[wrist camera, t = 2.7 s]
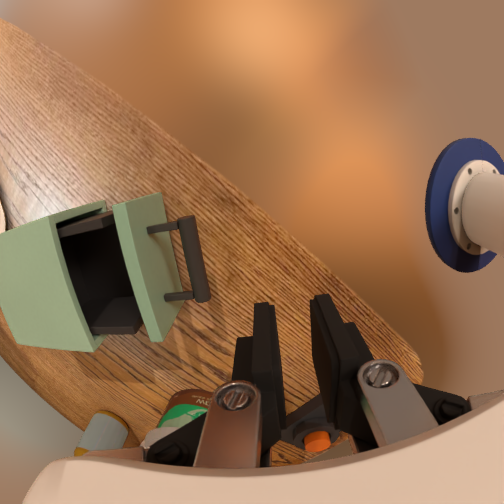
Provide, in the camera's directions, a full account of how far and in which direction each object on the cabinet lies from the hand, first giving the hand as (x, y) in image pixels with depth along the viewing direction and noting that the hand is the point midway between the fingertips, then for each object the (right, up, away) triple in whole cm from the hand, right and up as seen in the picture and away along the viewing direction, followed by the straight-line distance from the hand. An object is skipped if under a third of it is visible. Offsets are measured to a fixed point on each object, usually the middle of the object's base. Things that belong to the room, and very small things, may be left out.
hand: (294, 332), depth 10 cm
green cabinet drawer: (-14, +3, +16) cm, 22 cm away
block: (+8, -22, +24) cm, 34 cm away
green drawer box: (-23, +2, +18) cm, 29 cm away
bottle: (-27, -27, +27) cm, 47 cm away
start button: (+7, -23, +21) cm, 32 cm away
